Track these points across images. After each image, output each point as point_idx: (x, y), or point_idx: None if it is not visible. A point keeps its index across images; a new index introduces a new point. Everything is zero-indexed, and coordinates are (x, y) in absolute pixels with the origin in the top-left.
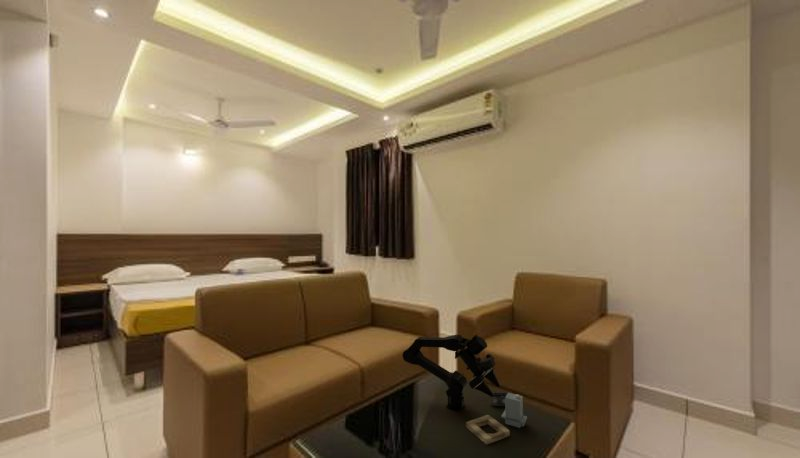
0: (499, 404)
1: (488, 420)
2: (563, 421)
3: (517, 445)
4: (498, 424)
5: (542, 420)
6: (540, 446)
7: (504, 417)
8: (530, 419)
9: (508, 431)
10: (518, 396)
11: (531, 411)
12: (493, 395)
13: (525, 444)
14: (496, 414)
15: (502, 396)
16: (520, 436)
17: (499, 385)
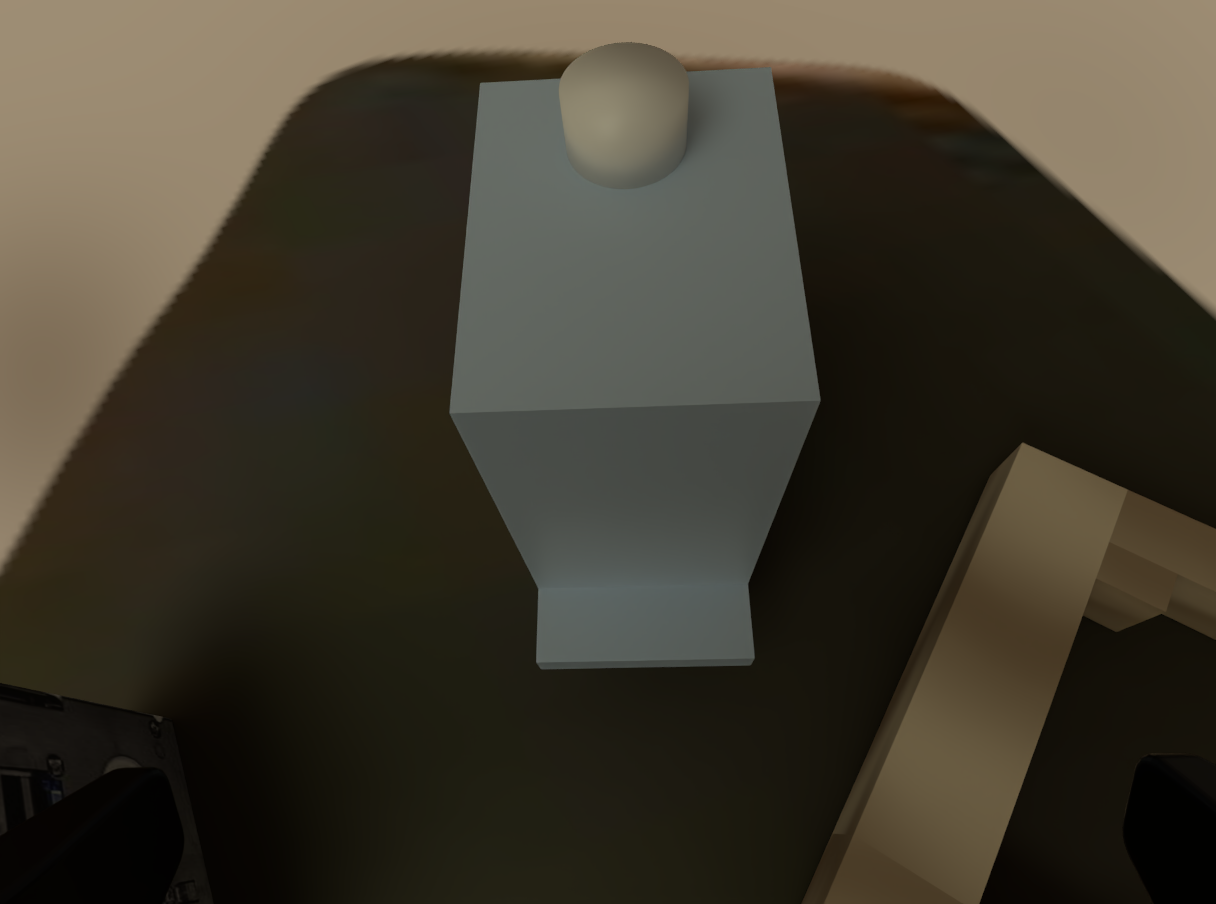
0: (194, 893)
1: (980, 882)
2: (333, 88)
3: (1112, 346)
4: (990, 648)
5: (403, 241)
6: (933, 163)
7: (747, 604)
8: (443, 352)
9: (1047, 456)
10: (671, 57)
11: (231, 385)
12: (1170, 753)
13: (1018, 282)
14: (539, 846)
15: None
16: (903, 362)
17: (133, 781)
